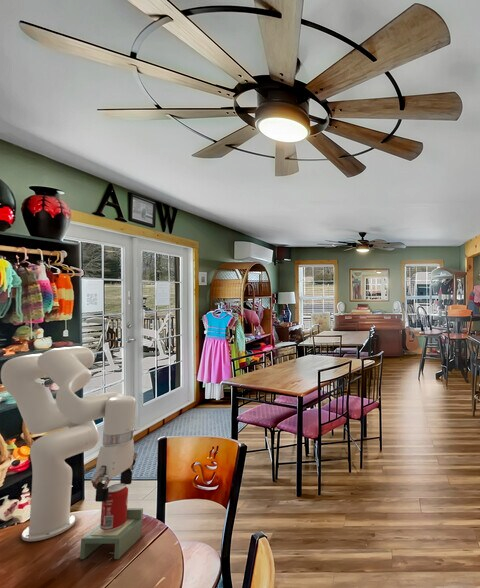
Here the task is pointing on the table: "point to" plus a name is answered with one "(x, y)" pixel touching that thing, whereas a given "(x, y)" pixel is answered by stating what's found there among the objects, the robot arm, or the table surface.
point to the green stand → (115, 535)
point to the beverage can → (114, 508)
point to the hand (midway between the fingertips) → (114, 492)
